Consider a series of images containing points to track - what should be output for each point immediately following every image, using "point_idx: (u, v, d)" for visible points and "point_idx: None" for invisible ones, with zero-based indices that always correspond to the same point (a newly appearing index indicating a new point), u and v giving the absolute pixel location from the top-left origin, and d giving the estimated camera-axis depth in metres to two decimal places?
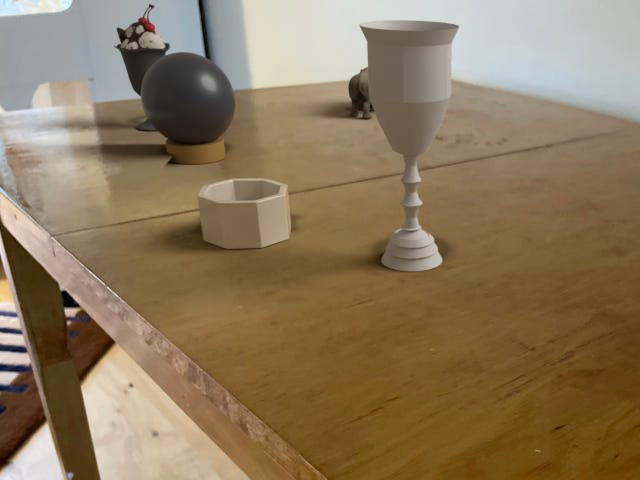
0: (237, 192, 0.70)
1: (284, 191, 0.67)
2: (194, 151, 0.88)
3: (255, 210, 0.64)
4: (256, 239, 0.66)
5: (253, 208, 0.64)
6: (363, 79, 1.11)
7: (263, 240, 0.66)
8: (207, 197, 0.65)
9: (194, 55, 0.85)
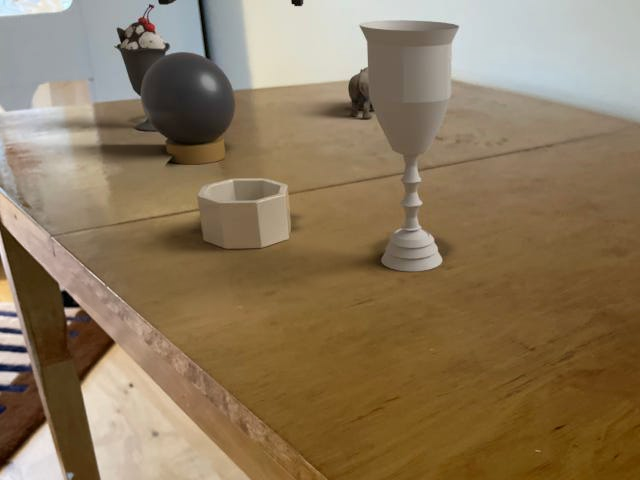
0: (237, 192, 0.70)
1: (284, 191, 0.67)
2: (194, 151, 0.88)
3: (255, 210, 0.64)
4: (256, 239, 0.66)
5: (253, 208, 0.64)
6: (363, 79, 1.11)
7: (263, 240, 0.66)
8: (207, 197, 0.65)
9: (194, 55, 0.85)
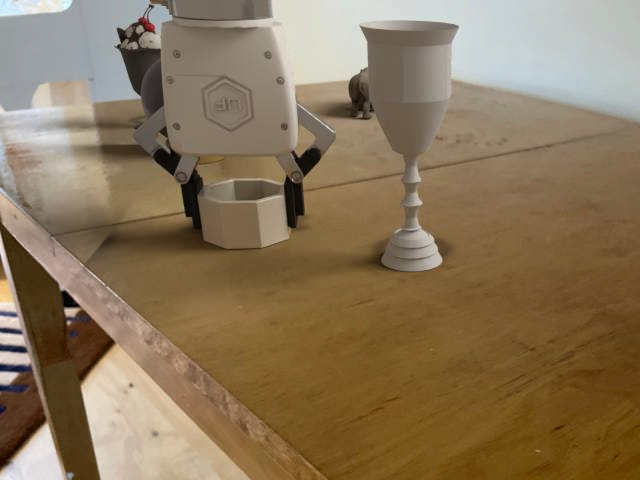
0: (237, 192, 0.70)
1: None
2: None
3: (255, 210, 0.64)
4: (256, 239, 0.66)
5: (253, 208, 0.64)
6: (363, 79, 1.11)
7: (263, 240, 0.66)
8: (207, 197, 0.65)
9: None
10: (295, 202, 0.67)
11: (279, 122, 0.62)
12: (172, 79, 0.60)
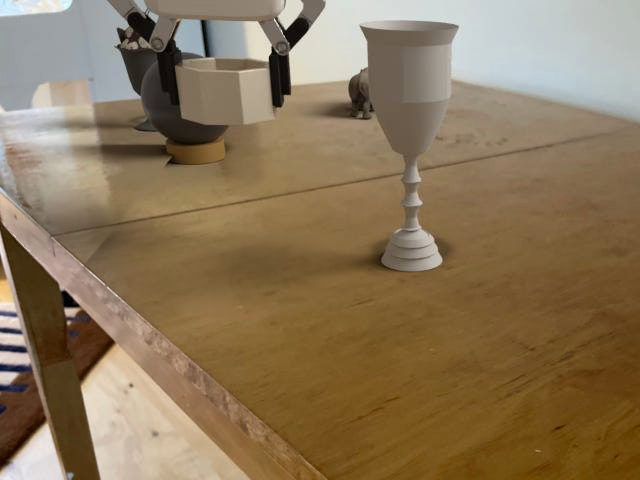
0: None
1: None
2: (194, 151, 0.88)
3: (237, 81, 0.60)
4: (238, 115, 0.61)
5: (234, 79, 0.59)
6: (363, 79, 1.11)
7: (246, 116, 0.61)
8: (185, 67, 0.60)
9: (194, 55, 0.85)
10: (281, 78, 0.63)
11: None
12: None
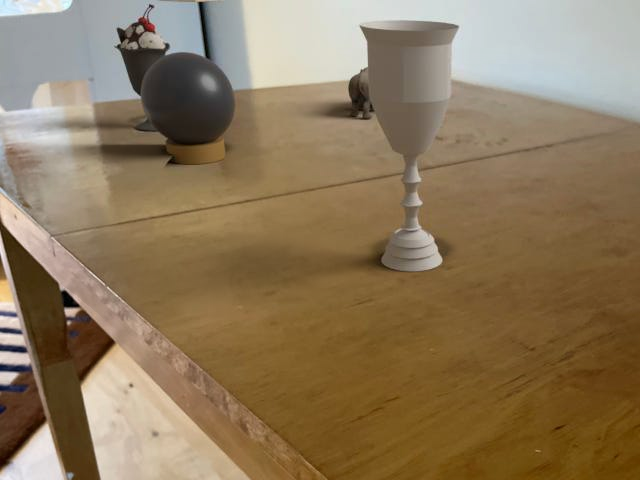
0: None
1: None
2: (194, 151, 0.88)
3: None
4: None
5: None
6: (363, 79, 1.11)
7: None
8: None
9: (194, 55, 0.85)
10: None
11: None
12: None
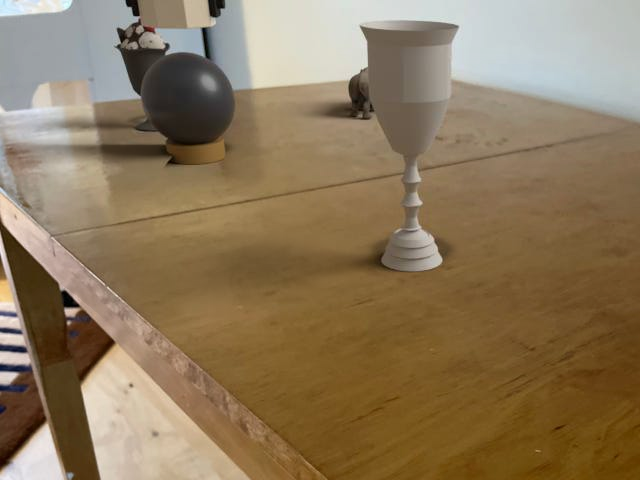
0: None
1: None
2: (194, 151, 0.88)
3: None
4: (183, 20, 0.81)
5: None
6: (363, 79, 1.11)
7: (188, 21, 0.81)
8: None
9: (194, 55, 0.85)
10: None
11: None
12: None
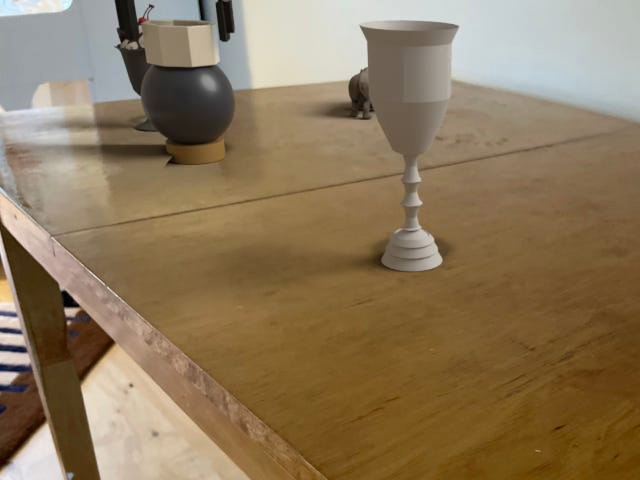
0: None
1: (211, 24, 0.84)
2: (194, 151, 0.88)
3: (186, 33, 0.82)
4: (187, 59, 0.83)
5: (184, 32, 0.81)
6: (363, 79, 1.11)
7: (193, 60, 0.83)
8: (149, 23, 0.82)
9: None
10: (225, 19, 0.84)
11: None
12: None
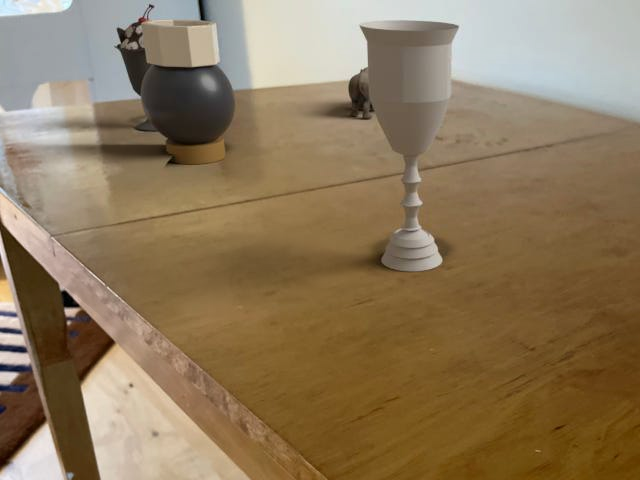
0: None
1: (211, 24, 0.84)
2: (194, 151, 0.88)
3: (186, 33, 0.82)
4: (187, 59, 0.83)
5: (184, 32, 0.81)
6: (363, 79, 1.11)
7: (193, 60, 0.83)
8: (149, 23, 0.82)
9: None
10: None
11: None
12: None
